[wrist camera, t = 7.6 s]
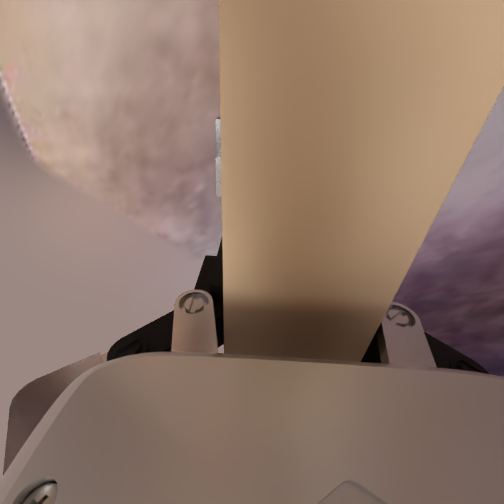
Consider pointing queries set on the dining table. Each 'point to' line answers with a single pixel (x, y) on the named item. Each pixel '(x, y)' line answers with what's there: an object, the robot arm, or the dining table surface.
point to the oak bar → (340, 157)
